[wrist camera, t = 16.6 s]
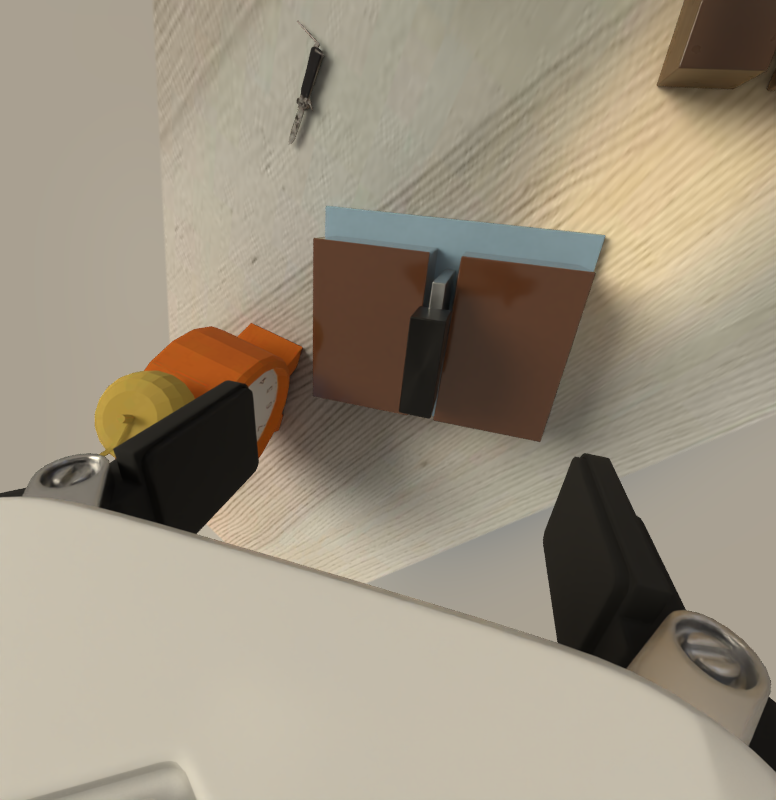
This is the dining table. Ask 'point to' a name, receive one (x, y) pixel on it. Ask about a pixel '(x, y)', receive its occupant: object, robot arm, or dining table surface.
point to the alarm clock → (200, 382)
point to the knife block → (721, 44)
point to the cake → (470, 313)
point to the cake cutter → (426, 349)
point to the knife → (307, 85)
